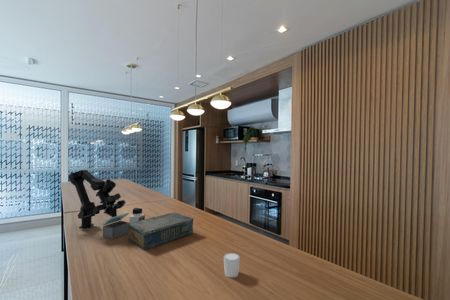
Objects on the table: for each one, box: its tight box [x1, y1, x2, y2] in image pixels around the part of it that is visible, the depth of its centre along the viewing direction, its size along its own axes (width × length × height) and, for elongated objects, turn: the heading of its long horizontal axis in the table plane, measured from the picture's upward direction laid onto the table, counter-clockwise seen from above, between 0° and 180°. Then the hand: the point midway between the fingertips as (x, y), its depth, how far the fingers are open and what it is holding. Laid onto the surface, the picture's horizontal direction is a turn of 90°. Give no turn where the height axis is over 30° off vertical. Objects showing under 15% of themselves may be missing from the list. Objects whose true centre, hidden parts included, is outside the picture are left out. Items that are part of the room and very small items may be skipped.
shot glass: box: [223, 252, 241, 278], centre depth 89 cm, size 7×7×7 cm
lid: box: [101, 212, 130, 226], centre depth 132 cm, size 9×12×1 cm
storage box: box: [102, 220, 130, 240], centre depth 131 cm, size 9×12×6 cm
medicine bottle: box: [129, 207, 146, 223], centre depth 147 cm, size 7×7×12 cm
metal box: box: [127, 212, 195, 251], centre depth 128 cm, size 21×32×10 cm, turn 137°
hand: (116, 218), depth 132 cm, fingers closed, pressing on lid
